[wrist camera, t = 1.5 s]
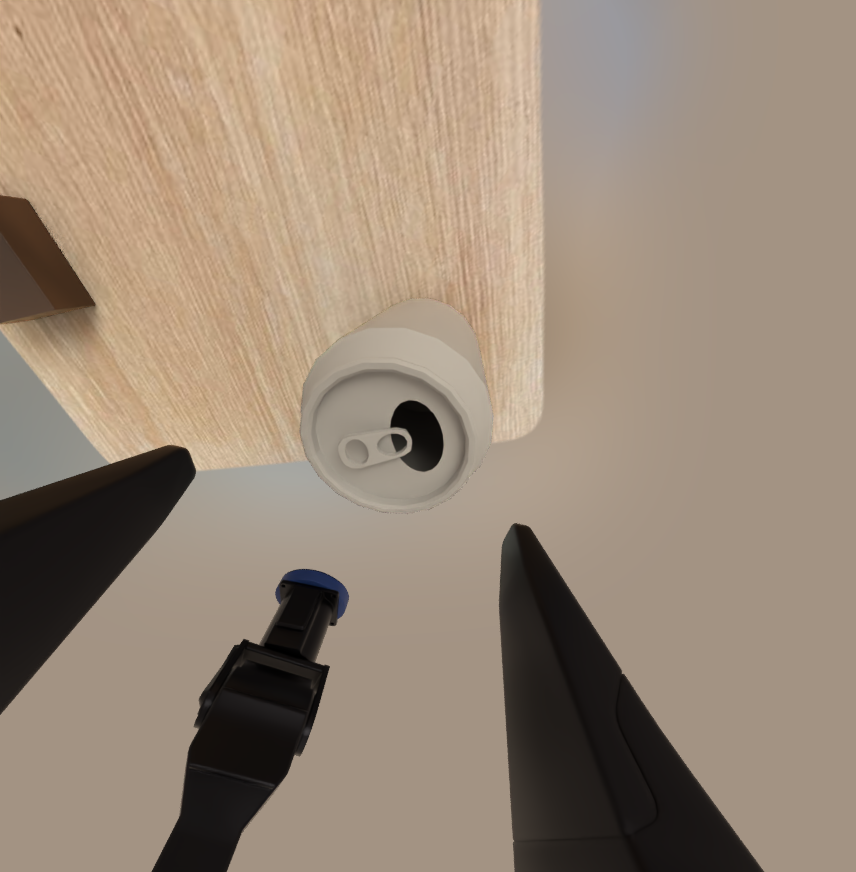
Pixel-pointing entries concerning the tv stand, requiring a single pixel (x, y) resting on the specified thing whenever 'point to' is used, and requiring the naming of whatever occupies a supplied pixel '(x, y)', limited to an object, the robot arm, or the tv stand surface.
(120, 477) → the robot arm
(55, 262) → the walnut block
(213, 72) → the tv stand surface
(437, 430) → the can
